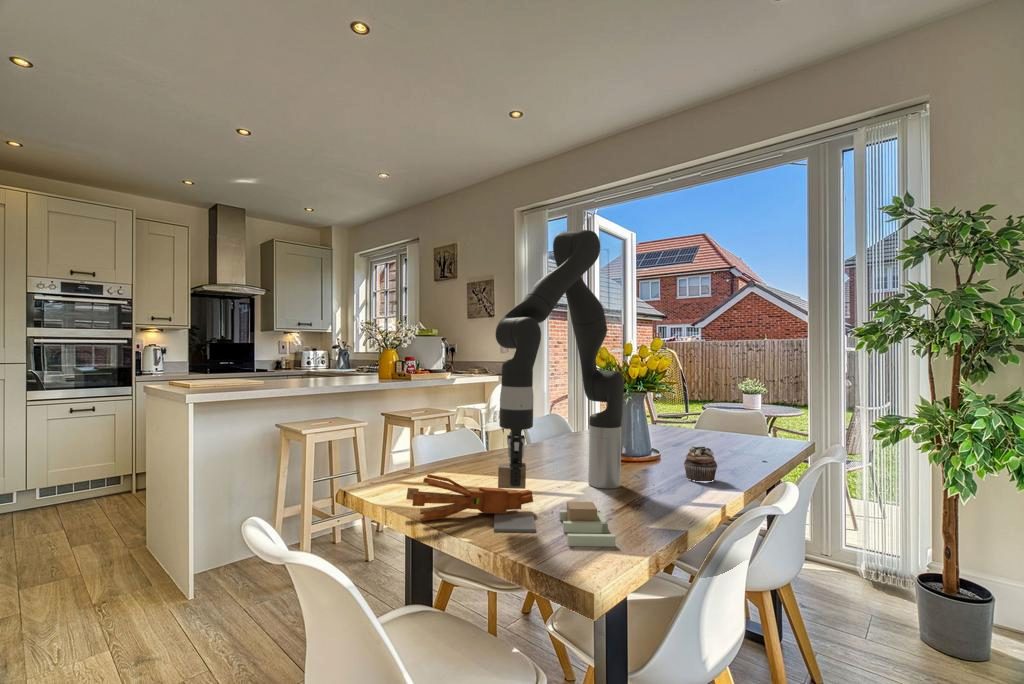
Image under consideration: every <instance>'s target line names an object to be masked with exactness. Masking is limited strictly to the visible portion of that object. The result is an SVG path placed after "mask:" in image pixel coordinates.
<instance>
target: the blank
mask: <svg viewBox="0 0 1024 684" xmlns="http://www.w3.org/2000/svg"><path fill="white" fill-rule="evenodd" d="M497 469H498V471H497V476H498V477H497V488H499V489H521V490H525V489H526V485H527V484H526V483H527V481H526V478H527V476H526V475H527V471H526V469H527V465H526V462H522V468H521V484H520V486H511V485H510V475H511V469H510V462H503V461H502V462H500V461H499V462H498V467H497Z"/></svg>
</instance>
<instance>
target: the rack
mask: <svg viewBox="0 0 1024 684" xmlns="http://www.w3.org/2000/svg"><path fill="white" fill-rule="evenodd" d="M558 512H559V513H558V515H559V516H558V519H559V521H560V522H561V521H562V532H563V534H565V533H567V535H566V536H567V537H566V538H567V539H566V541H567V542H566V544H567V547H616V535H615V533H609V523H608V521H607V520H606V518H605V516H604V515H603V513H602V511H601V510H598V508H597V506H596V505H595V502H593V501H566V509H564V510H563V509H561V510H560V509H559V510H558Z"/></svg>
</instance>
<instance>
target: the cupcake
mask: <svg viewBox="0 0 1024 684" xmlns="http://www.w3.org/2000/svg"><path fill="white" fill-rule="evenodd" d="M688 450H689V452H688V453H687V454H686V456H685V460H684V463H683V465H684V470H685V474H686V475H685V477H686V479H687V478H688V479H691V480H695V481H712V480H714V481H715V477H716V472H717V469H718V464H717V462H716V460H715V456H714V451H712V449H711V448H709V447H705V446H698V447H697V446H691V447H689V448H688Z"/></svg>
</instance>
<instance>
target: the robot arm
mask: <svg viewBox="0 0 1024 684" xmlns="http://www.w3.org/2000/svg"><path fill="white" fill-rule="evenodd" d="M552 251H553V256H554V257H553V258H554V262H555V265H556V268H555V269H553V270H552V271H550V272H549V273H547V274H545V275H544V276H543V277H542V278H541V279H539V280H538V281H537V282H536V283H535V284H534V285H533V286H532V287H531V289H530V290H529V291H528V293H527V294H526V296H525V297H523V300H522V301H521V302H519V303H518V304H517V305H515V306H514V307H512V309H510V310H509V311H508V312H507V313H505V315H503V317H502V318H501V319H500V321H499V322H498V323H497V325H496V328H495V340H496V343H497V344H498V345H499V346H501V347H502V348H505V349H510V350H511V349H515V351H514V354H513V357H512V358H510V359H507V360H505V361H503V363H502V365H501V383H500V385H501V388H500V393H499V423H498V424H499V427H500V428H501V429H506V430H510V431H509V434H507V435H506V443H507V457H508V461H509V463H510V469H511V475H510V485H511V486H520V484H521V468H522V463H523V458H524V457H525V452H524V451H525V448H524V447H525V445H526V437H525V435H524V434H523V433H522V432H523V430H530V429H532V428H533V425H534V390H533V384H534V383H533V382H534V381H533V380H534V379H533V378H534V376H533V375H534V371H533V369H534V366H535V363H536V361H537V360H536V359H537V355H538V352H539V348H540V346H541V340H542V330H541V328H540V327H541V326H540V325H539V324H540V323H543V322H544V321H546V320H547V319H548V317H549V316H550V314H551V313H552V312H553V310H554V309H555V307H556V306H557V304H558V303H559V302H560V300H561V299H562V298H563V296H564V295H565V297H566V301H567V305H568V309H569V314H570V320H571V324H572V330H573V334H574V337H575V342H576V346H577V352H578V355H579V359H580V361H579V362H580V369H581V374H582V384H583V385H582V386H583V390H584V394H585V396H586V398H587V399H588V400H589V401H591V402H599V403H607V405H606V406H607V407H606V408H605V409H604V410H602V411H600V412H599V411H598V412H595V413H593V414H591V415H589V420H588V423H589V425H588V426H589V427H588V428H589V429H588V479H587V480H588V483H587V484H588V486H590V487H593V488H598V489H610V490H611V489H617V488H620V487H621V478H622V477H621V475H622V474H621V469H622V467H621V466H622V463H621V462H622V420H623V407H624V393H625V391H624V390H625V381H624V377H623V373H621V372H620V371H617V370H600V369H598V368H597V361H596V360H597V355H598V353H599V351H600V348H601V347H602V345H603V343H604V341H605V339H606V337H607V332H608V325H607V320H606V314H605V309H604V307H603V305H602V303H601V301H600V300H599V299H598V297H597V296H596V295H595V294H594V292H592V290H591V289H590V288H589V287H588V286H587V284H586V283H585V281H584V280H583V277H582V276H583V275H584V274H586V272H587V271H588V270H590V268H591V267H592V266H594V264H595V263H596V262H597V260H598V259H599V255H600V252H601V242H600V238H599V236H598V235H597V233H596V232H595V231H593V230H591V229H589V230H588V229H580V230H579V229H577V230H567V231H561V232H558V233H557V234H556V235H555V237H554V239H553V243H552Z"/></svg>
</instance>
